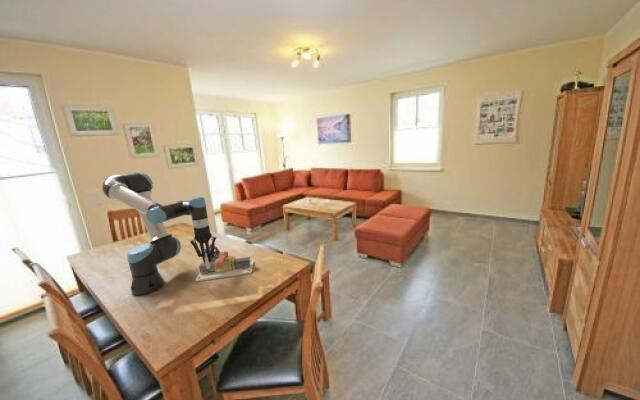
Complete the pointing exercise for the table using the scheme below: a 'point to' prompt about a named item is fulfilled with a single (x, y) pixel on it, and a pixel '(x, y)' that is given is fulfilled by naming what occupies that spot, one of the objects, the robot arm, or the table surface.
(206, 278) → the mount board
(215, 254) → the brake caliper
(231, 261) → the pipe valve
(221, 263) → the lever
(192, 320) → the table surface
